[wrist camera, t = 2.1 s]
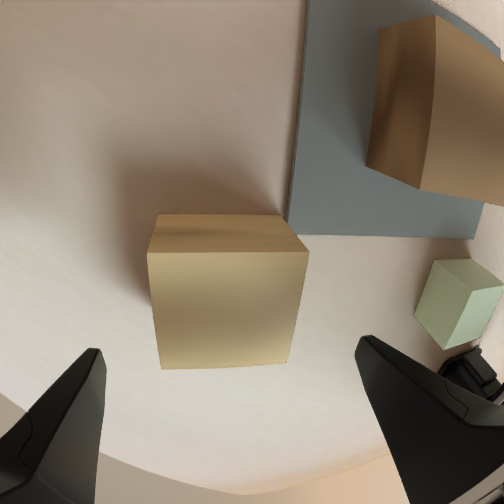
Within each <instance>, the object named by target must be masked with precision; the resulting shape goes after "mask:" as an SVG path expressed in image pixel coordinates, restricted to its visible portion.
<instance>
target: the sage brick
mask: <svg viewBox="0 0 504 504" xmlns="http://www.w3.org/2000/svg"><path fill="white" fill-rule="evenodd" d="M503 290H504V283H503V282H501V281H500V280H499V279H498V278H496V277H495V276H494V275H492V274H491V273H490V272H489V271H487V270H486V269H485V268H483V267H482V266H481V265H479V264H478V263H476V262H475V261H474V260H472V259H447V260H434V262H433V265H432V268H431V271H430V274H429V276H428V279H427V282H426V285H425V287H424V290H423V293H422V295H421V298H420V300H419V303H418V305H417V308H416V310H415V313H414V315H413V316H414V317H415V318H416V320H417V321H418V322H419V323H420V324H421V325H422V326H423V327H424V329H425V330H426V331H427V332H428V333H429V334H430V335H431V336H432V338H433V339H434V340H435V341H436V342H437V343H438V345H439V346H440V347H441V348H442V349H443V350H446V349H449V348H452V347H455V346H458V345H461V344H464V343H466V342H469V341H472V340H475V339H478V338H480V337H481V335H482V333H483V331H484V329H485V327H486V325H487V323H488V322H489V320H490V318H491V316H492V314H493V312H494V310H495V307H496V305H497V303H498V301H499V299H500V297H501V294H502V292H503Z"/></svg>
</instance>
